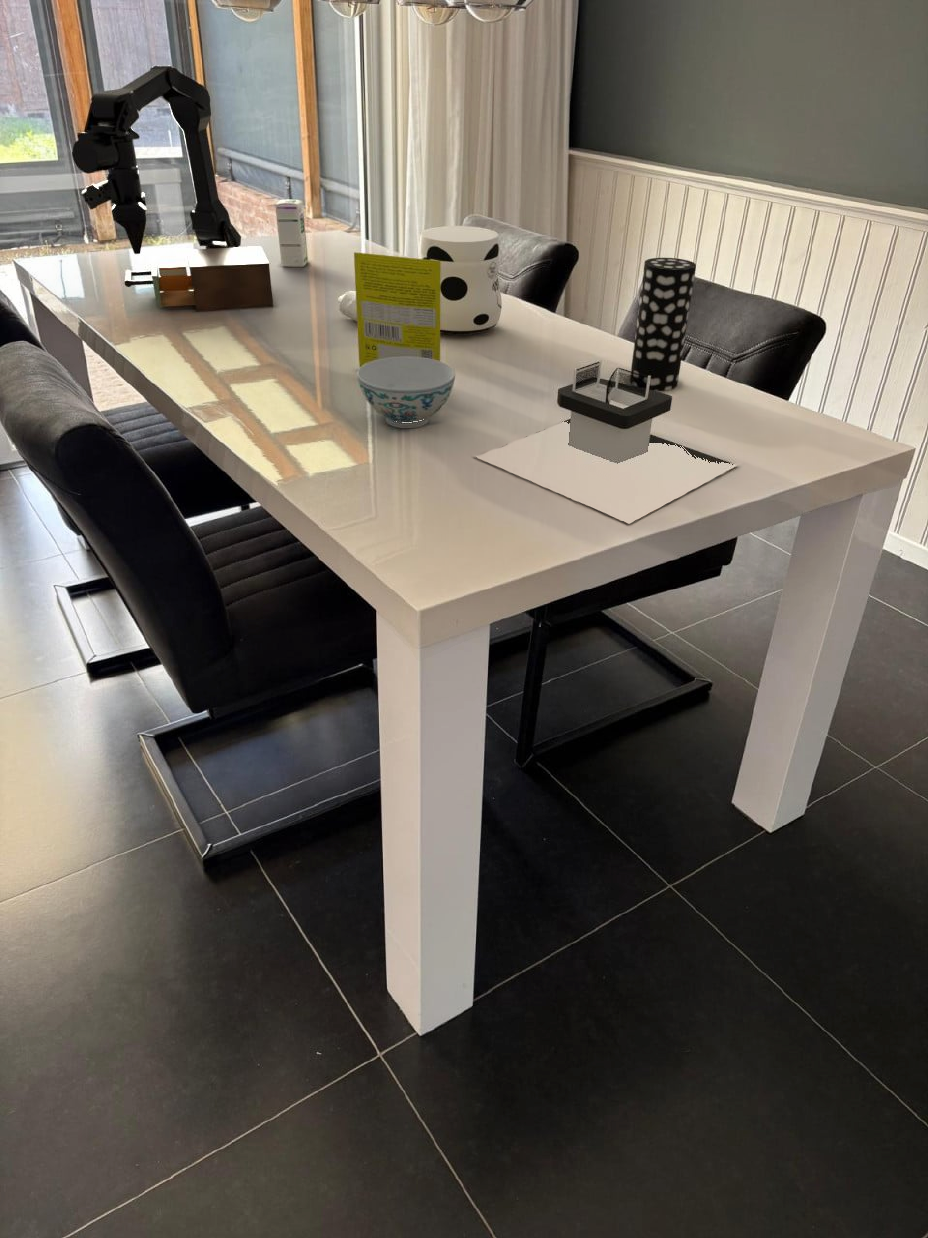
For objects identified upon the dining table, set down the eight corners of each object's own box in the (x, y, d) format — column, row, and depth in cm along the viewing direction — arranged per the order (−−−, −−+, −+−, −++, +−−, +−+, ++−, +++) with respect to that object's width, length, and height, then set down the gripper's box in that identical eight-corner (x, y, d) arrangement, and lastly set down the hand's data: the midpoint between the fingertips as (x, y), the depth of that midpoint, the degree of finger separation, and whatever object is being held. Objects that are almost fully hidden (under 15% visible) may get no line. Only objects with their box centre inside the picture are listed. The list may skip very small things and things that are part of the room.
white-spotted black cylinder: (648, 393, 153) (665, 271, 141) (620, 378, 159) (634, 260, 148) (687, 386, 156) (706, 266, 145) (657, 372, 162) (674, 255, 151)
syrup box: (304, 266, 222) (299, 203, 214) (280, 266, 222) (274, 202, 214) (308, 261, 227) (303, 199, 219) (285, 261, 227) (279, 198, 219)
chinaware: (419, 446, 133) (419, 396, 128) (339, 424, 139) (336, 376, 135) (472, 415, 143) (473, 368, 139) (396, 396, 150) (395, 350, 145)
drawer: (128, 310, 185) (122, 277, 181) (129, 290, 197) (123, 259, 194) (236, 303, 190) (232, 271, 186) (230, 284, 203) (226, 254, 199)
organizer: (196, 311, 189) (190, 266, 183) (193, 291, 201) (186, 249, 196) (273, 306, 192) (269, 262, 187) (265, 287, 205) (260, 246, 200)
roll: (355, 310, 191) (354, 283, 188) (384, 324, 183) (383, 296, 180) (330, 314, 188) (329, 287, 185) (359, 329, 180) (357, 300, 177)
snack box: (163, 297, 191) (158, 267, 188) (163, 292, 194) (158, 263, 190) (190, 295, 192) (185, 266, 189) (189, 291, 195) (185, 262, 192)
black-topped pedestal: (739, 466, 129) (757, 375, 121) (628, 525, 113) (642, 425, 106) (587, 412, 145) (595, 329, 138) (473, 457, 130) (475, 367, 122)
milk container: (518, 328, 183) (522, 234, 172) (459, 346, 172) (461, 247, 162) (456, 311, 192) (457, 220, 182) (398, 327, 182) (395, 232, 172)
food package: (441, 380, 156) (441, 260, 145) (438, 382, 155) (439, 261, 144) (360, 369, 160) (355, 251, 149) (358, 371, 159) (352, 252, 148)
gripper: (81, 160, 183) (97, 241, 192) (76, 174, 168) (94, 262, 177) (138, 159, 185) (152, 239, 194) (138, 173, 171) (153, 259, 180)
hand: (137, 249), depth 186 cm, fingers open, 7 cm apart
